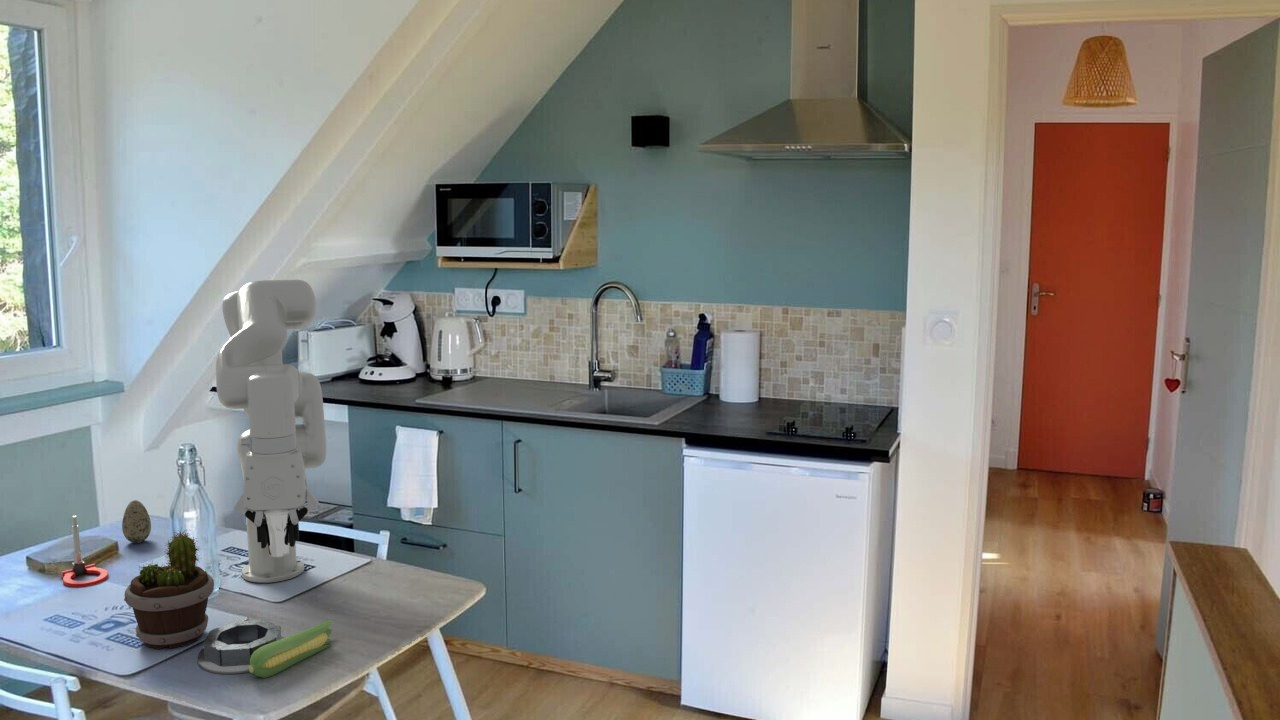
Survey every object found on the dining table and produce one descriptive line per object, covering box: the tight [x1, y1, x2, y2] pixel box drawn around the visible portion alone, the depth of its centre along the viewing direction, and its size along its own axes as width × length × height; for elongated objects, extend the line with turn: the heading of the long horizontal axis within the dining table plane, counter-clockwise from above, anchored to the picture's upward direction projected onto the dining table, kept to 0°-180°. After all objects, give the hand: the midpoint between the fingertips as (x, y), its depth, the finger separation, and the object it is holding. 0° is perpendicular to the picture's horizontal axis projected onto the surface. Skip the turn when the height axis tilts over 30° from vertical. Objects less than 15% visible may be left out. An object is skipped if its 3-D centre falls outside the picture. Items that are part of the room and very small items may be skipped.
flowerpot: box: [123, 527, 215, 650], centre depth 190 cm, size 14×15×20 cm
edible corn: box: [248, 620, 334, 679], centre depth 183 cm, size 5×20×5 cm
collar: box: [197, 619, 285, 675], centre depth 185 cm, size 15×15×4 cm
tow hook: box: [60, 515, 110, 588], centre depth 218 cm, size 8×13×9 cm
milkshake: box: [264, 510, 290, 558], centre depth 185 cm, size 4×5×10 cm
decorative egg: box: [121, 499, 152, 544], centre depth 241 cm, size 6×6×10 cm
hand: (278, 543), depth 185 cm, fingers closed on milkshake, 4 cm apart
